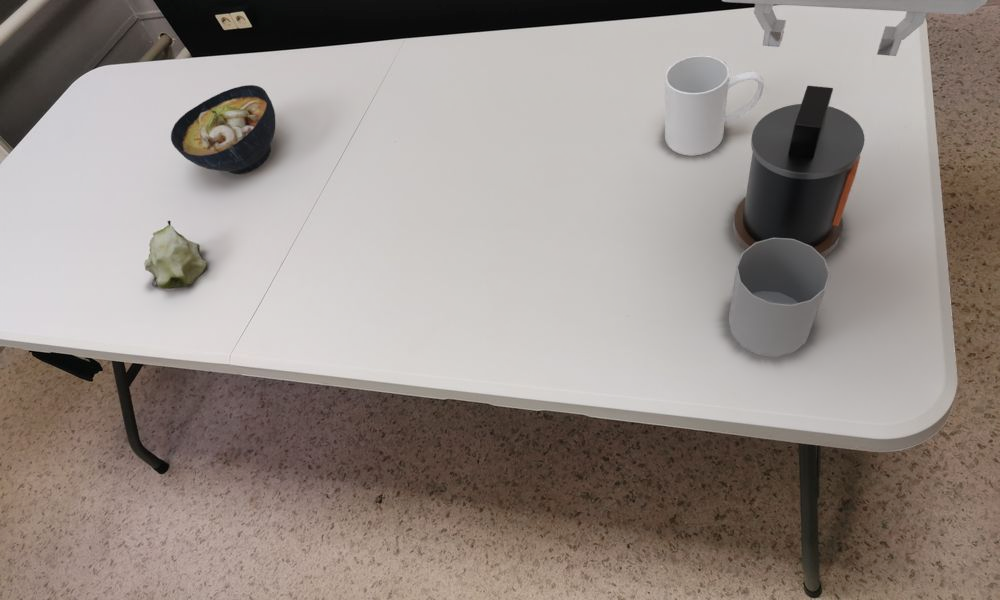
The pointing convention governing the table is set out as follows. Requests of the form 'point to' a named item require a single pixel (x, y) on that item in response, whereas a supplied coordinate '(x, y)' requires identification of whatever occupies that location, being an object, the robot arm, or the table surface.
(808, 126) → the bin
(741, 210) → the disc
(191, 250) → the fruit
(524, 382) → the table surface
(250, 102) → the bowl
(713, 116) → the mug
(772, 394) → the table surface
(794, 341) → the cup
